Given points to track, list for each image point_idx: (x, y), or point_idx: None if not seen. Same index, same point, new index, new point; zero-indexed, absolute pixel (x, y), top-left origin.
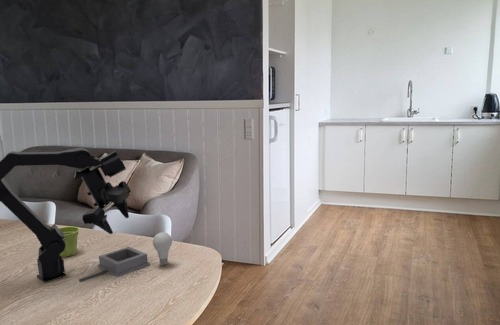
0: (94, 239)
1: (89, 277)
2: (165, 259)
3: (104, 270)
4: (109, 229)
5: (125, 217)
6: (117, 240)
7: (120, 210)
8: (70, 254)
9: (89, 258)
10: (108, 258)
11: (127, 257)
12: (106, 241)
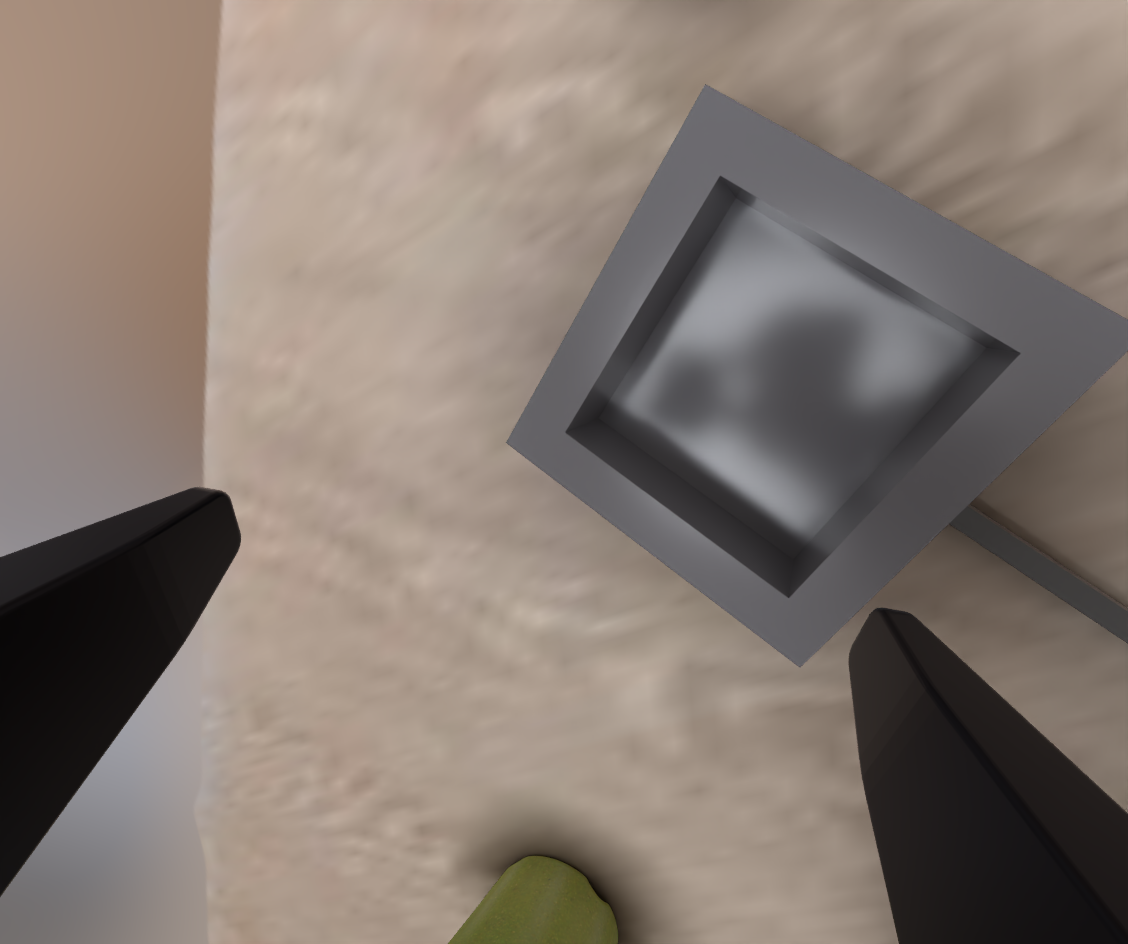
0: (316, 784)
1: None
2: None
3: (959, 522)
4: (1037, 736)
5: (229, 561)
6: (296, 635)
7: (64, 768)
8: (590, 893)
9: (619, 742)
10: (883, 533)
11: (606, 417)
12: (325, 702)
